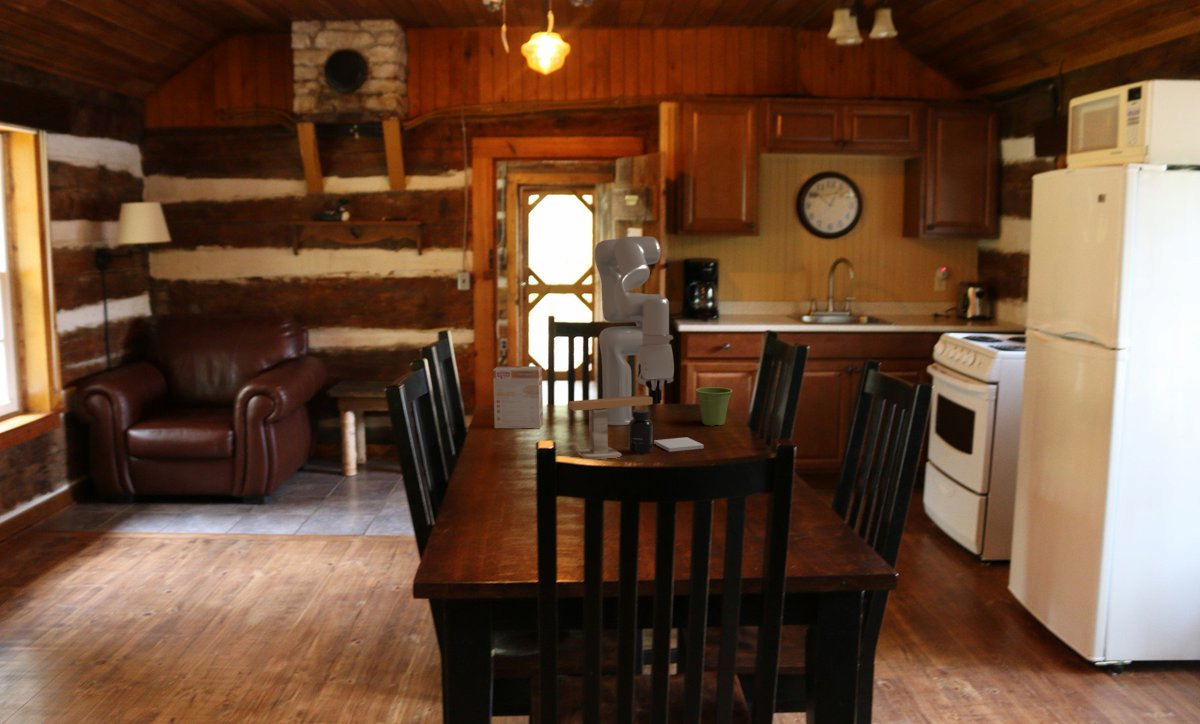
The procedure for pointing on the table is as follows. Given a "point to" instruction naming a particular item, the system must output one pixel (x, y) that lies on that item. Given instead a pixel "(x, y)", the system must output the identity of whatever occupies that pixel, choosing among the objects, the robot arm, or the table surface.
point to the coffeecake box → (518, 397)
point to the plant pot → (713, 404)
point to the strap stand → (598, 437)
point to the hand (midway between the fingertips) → (655, 403)
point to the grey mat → (678, 444)
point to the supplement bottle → (640, 432)
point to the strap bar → (610, 402)
